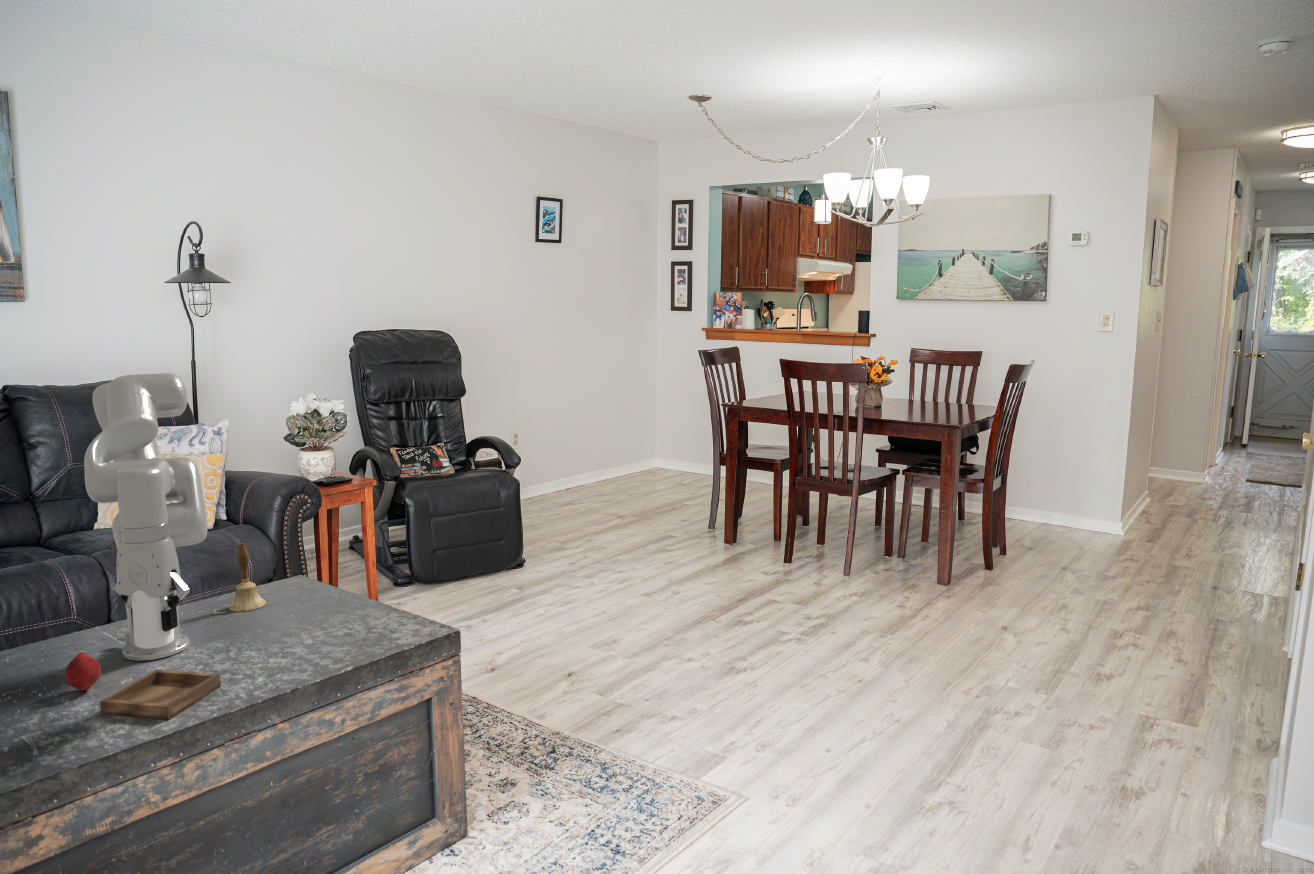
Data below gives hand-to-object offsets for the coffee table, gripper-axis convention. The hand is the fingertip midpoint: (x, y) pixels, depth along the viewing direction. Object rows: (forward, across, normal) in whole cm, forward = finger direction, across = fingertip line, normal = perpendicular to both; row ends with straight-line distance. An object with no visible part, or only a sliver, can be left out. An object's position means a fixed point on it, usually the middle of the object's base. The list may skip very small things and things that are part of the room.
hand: (155, 627), depth 163 cm
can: (+3, -1, 0) cm, 3 cm away
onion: (+15, -18, +1) cm, 23 cm away
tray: (+14, 0, 0) cm, 14 cm away
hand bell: (+14, -17, +49) cm, 54 cm away
